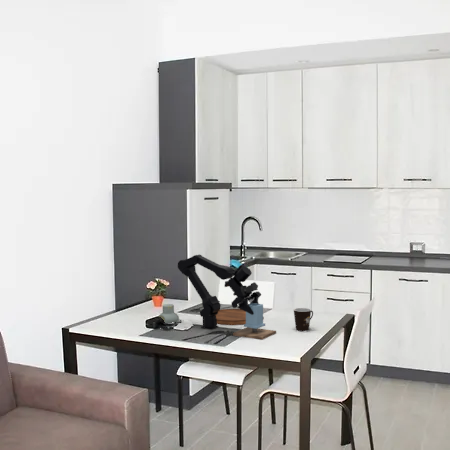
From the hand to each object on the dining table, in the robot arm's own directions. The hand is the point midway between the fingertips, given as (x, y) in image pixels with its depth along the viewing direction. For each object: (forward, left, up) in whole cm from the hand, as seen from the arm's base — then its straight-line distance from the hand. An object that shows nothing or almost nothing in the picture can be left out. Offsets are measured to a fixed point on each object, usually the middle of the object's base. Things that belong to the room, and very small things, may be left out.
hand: (256, 313), depth 295 cm
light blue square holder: (-1, 0, -7) cm, 7 cm away
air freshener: (-51, -3, -11) cm, 53 cm away
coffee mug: (+16, +21, -11) cm, 28 cm away
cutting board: (-28, +25, -11) cm, 39 cm away
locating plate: (-1, 0, -11) cm, 11 cm away
